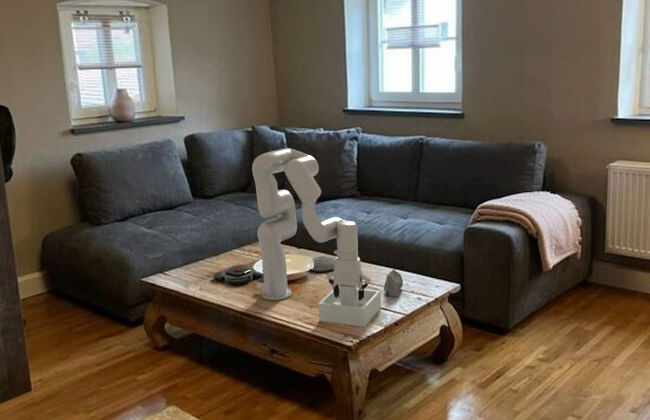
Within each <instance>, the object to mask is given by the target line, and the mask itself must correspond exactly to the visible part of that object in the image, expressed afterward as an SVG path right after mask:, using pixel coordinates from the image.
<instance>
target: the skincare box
mask: <svg viewBox="0 0 650 420" xmlns="http://www.w3.org/2000/svg"><path fill="white" fill-rule="evenodd" d="M339 287H340V303H341V305H346V306H354V307H357V292H356V288H357V286H347V285H339Z"/></svg>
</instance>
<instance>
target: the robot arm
mask: <svg viewBox="0 0 650 420" xmlns="http://www.w3.org/2000/svg"><path fill="white" fill-rule="evenodd" d="M319 168H320V166H319V164H318V161H317V159H316V158H315V157H313V156H312V155H309V154H307V153H305V152H302V151H299V150H296V149H294V148H289V147H287V148H279V149H277V150H272V151H268V152H265V153H261V154H260V155H258V156H257V157H256V158H255V159H253V162H252V167H251V169H252V171H251V172H252V175H253V180H254V183H255V191H256V192H255V193H256V200H257V209H258V212H259V215H260V216H261V217H262V218H266V219H269V218H272V219H270V220H266V221H265V222H263V223H261V224H260V225H259V226H258V228H257V233H256V234H257V239H258V242H259V245H260V252H261V263H262V272H263V275H262V276H263V282H257V283H256V290H261V292H260V297H261V298H262V299H263V300H267V301H280V300H281V301H282V300H285V299H288V298H289V297H291V296H292V293H293V292H292V290H291V288H289V287H288V277H287V275H288V273H287V261H286V260H287V258H286V251H285V249H284V246H282V244H281V242H282V241H285V240H288V239H290V238H292V237H294V236H295V235H296V233H297V229H298V224H297V223H298V222H297V221H298V220H297V214H296V204H295V200H294V197H293V195H292V194H291V193H290V191H288V190H287V189H278V182H277V180H276V177H275V176H274V174H277V173H280V172H284V174H285V176H286V178H287V179H288V182H290V185H291V186H292V188H293V189H294V191H295V193H296V195H297V197H298V198H299V200H300V201H301V210H300V213H301V219H302V223H303V225H304V227H305V228H306V230H307V232H308V234H309V235H310V237H312V239H313V240H314V241H316V243H320V244H321V243H325V242H329V241H330V240H332V239H335V238H336V247H337V249H335V250H334V251H333V254H334V255H336V257H335V258H334V259H335V264H334V269H333V271H331V272H329V273H327V274H326V279H327V280H328V282H329V284H330V285H331V288H333V289H332V290H333V292H334V296H335V297H337V296H338V295H339V287H340V285H347V286H356V288H357V289H359V291H358V296H359V301H361V300H362V299H363V298H364V289H366V288H367V287H368V286H369V284H370V282H371V280H372V279H371V278H370V277H368V276H367V275H365V274H363V270H362V269H363V268H362V263H361V262H362V261H361V258H360V257H359V252H358V251H359V250H358V248H359V247H358V246H359V245H358V244H359V243H358V241H359V240H358V225H357V223H356V222H355V221H351V220H345V219H342V218H340V217H338V216H332V217H330V218H325V219H324V220H320V218H319V215H318V214H317V211H316V203H317V200H318V199H319V198H320V196H321V194H322V189H321V187H320V186H319V185H318V183H317V181H316V180H315V178H314V177H315V176H316V175H318V173H319ZM363 280H364V281H365V282H363Z"/></svg>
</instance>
